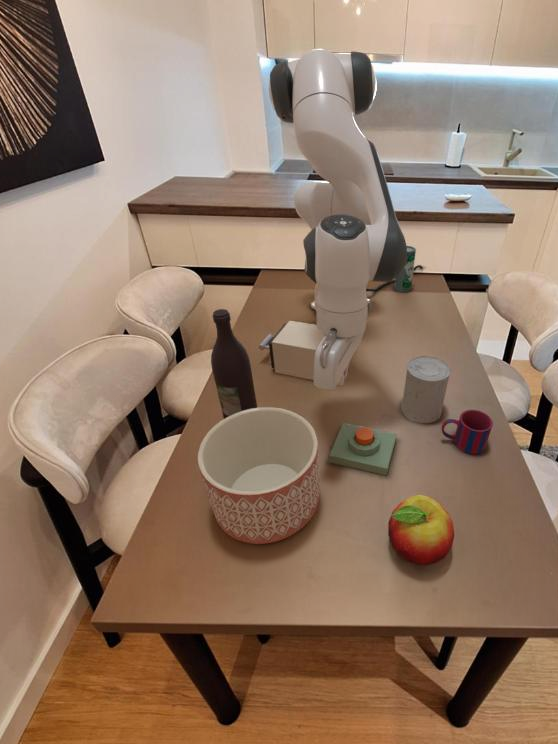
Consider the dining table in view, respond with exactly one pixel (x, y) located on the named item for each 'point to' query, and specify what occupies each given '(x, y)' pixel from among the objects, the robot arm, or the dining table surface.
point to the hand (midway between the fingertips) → (340, 380)
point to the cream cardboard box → (296, 349)
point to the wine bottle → (231, 369)
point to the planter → (261, 473)
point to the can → (406, 272)
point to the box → (363, 450)
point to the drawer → (270, 345)
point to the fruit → (421, 530)
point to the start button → (364, 436)
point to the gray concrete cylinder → (425, 388)
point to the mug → (471, 431)
